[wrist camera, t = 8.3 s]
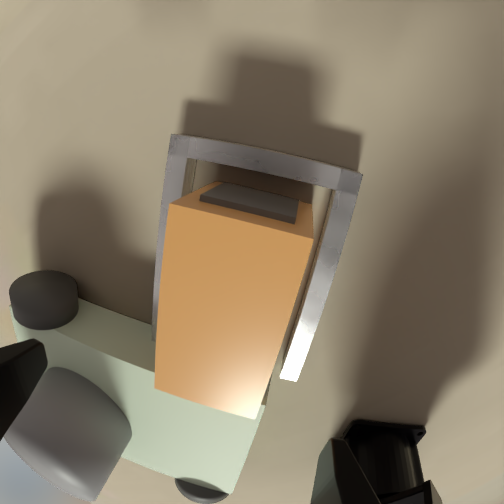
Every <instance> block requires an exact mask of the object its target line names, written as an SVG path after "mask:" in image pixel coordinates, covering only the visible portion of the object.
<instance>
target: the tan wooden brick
mask: <svg viewBox="0 0 504 504" xmlns="http://www.w3.org/2000/svg"><path fill="white" fill-rule="evenodd" d="M313 240H314V233H313V212H312V204H308V203H304V202H300V201H299V200H297V199H293V198H289V197H285V196H281V195H277V194H273V193H269V192H265V191H261V190H257V189H252V188H248V187H244V186H239V185H235V184H231V183H226V182H224V183H222V182H217V181H215V182H213V183H211V184H209V185H207V186H204V187H202V188H200V189H198V190H196V191H194V192H192V193H190V194H187V195H185V196H183V197H181V198H179V199H177V200H175V201H173V202H171V203H169V209H168V216H167V224H166V232H165V241H164V249H163V259H162V269H161V279H160V291H159V303H158V317H157V333H156V353H155V382H154V388H155V389H158V390H161V391H163V392H166V393H169V394H172V395H175V396H177V397H180V398H183V399H186V400H189V401H192V402H195V403H199V404H202V405H205V406H208V407H212V408H215V409H218V410H222V411H225V412H229V413H232V414H236V415H240V416H243V417H247V418H251V419H255V418H256V416H257V413H258V410H259V407H260V405H261V402H262V399H263V396H264V394H265V391H266V388H267V385H268V382H269V379H270V377H271V374H272V371H273V368H274V365H275V362H276V359H277V356H278V353H279V350H280V347H281V344H282V341H283V338H284V335H285V332H286V329H287V326H288V323H289V320H290V317H291V313H292V310H293V307H294V304H295V301H296V297H297V294H298V291H299V288H300V284H301V281H302V278H303V275H304V271H305V268H306V264H307V261H308V258H309V254H310V251H311V247H312V244H313Z"/></svg>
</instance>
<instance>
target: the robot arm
mask: <svg viewBox="0 0 504 504" xmlns="http://www.w3.org/2000/svg"><path fill="white" fill-rule="evenodd" d="M47 366H48V359H47V355H46V351H45V347H44V344H43V343H42V342H40V341H38V340H37V339H34V338H32V339H28V340H25V341H22V342H18V343H15V344H12V345H8V346H5V347H2V348H0V441H1V439H2V438H3V436H4V435H5V433H6V432H7V430H8V429H9V427H10V426H11V424H12V423H13V422H14V420H15V419H16V417H17V416H18V414H19V413H20V411H21V410H22V409H23V407H24V406H25V404H26V403H27V401H28V400H29V398H30V396H31V394H32V393H33V391H34V389H35V387H36V386H37V384H38V382H39V380H40V379H41V377H42V375H43V374H44V372H45V370H46V368H47ZM425 434H426V429H425V427H424V426H415V425H402V424H391V423H381V422H373V421H365V420H354V421H353V422H351V424H350V425H349V427H348V428H347V430H346V431H345V433H344V434H343V436H342V437H341V439H338V438H331V439H329V441H328V442H327V444H326V445H325V447H324V448H323V450H322V451H321V453H320V455H319V459H318V465H317V470H316V476H315V482H314V487H313V492H312V498H311V504H442V500H441V497H440V496H439V494H438V492H437V490H436V489H435V487H434V485H433V483H432V481H431V480H428V481H425V482H424V478H423V473H422V468H421V463H420V458H419V454H418V449H417V443H418V442H419V441H420V440H421V439H422V437H423V436H424V435H425Z"/></svg>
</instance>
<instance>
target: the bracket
mask: <svg viewBox="0 0 504 504" xmlns="http://www.w3.org/2000/svg"><path fill="white" fill-rule="evenodd" d="M197 159H198V160H204V161H209V162H214V163H219V164H225V165H230V166H235V167H240V168H244V169H249V170H254V171H259V172H263V173H268V174H272V175H277V176H281V177H285V178H290V179H294V180H298V181H302V182H306V183H310V184H314V185H318V186H322V187H326V188H330V189H333V190H332V194H331V198H330V202H329V206H328V210H327V214H326V218H325V222H324V225H323V229H322V233H321V236H320V240H319V244H318V247H317V251H316V254H315V258H314V261H313V265H312V268H311V272H310V275H309V279H308V282H307V286H306V289H305V292H304V296H303V299H302V302H301V305H300V309H299V312H298V315H297V318H296V322H295V325H294V328H293V331H292V334H291V337H290V340H289V343H288V346H287V349H286V353H285V356H284V359H283V362H282V367H281V374H280V378H283V379H288V380H292V381H297V378H298V376H299V373H300V371H301V368H302V366H303V363H304V360H305V358H306V355H307V352H308V350H309V347H310V344H311V342H312V339H313V336H314V333H315V331H316V328H317V325H318V322H319V319H320V316H321V314H322V311H323V308H324V305H325V302H326V299H327V296H328V293H329V290H330V287H331V284H332V281H333V278H334V274H335V271H336V268H337V265H338V262H339V258H340V255H341V252H342V249H343V245H344V242H345V238H346V235H347V232H348V228H349V225H350V221H351V218H352V214H353V210H354V207H355V203H356V199H357V196H358V192H359V188H360V184H361V180H362V176H363V174H361V173H360V172H358V171H354V170H351V169H347V168H343V167H340V166H336V165H332V164H328V163H324V162H320V161H316V160H312V159H308V158H304V157H300V156H296V155H291V154H287V153H282V152H278V151H273V150H269V149H264V148H259V147H254V146H249V145H244V144H239V143H233V142H228V141H222V140H216V139H210V138H204V137H198V136H192V135H185V134H171V139H170V145H169V151H168V158H167V164H166V171H165V179H164V186H163V194H162V202H161V211H160V220H159V230H158V240H157V251H156V263H155V277H154V293H153V312H152V341H154V342H156V333H157V317H158V303H159V291H160V279H161V269H162V259H163V249H164V241H165V232H166V224H167V216H168V209H169V203H171V202H173V201H175V200H177V199H179V198H181V197H183V196H185V195H187V194H190V193H192V187H193V180H194V174H195V168H196V162H197Z"/></svg>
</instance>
